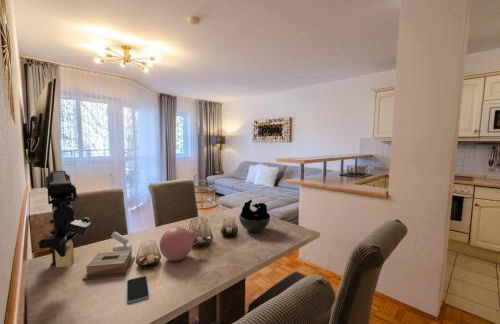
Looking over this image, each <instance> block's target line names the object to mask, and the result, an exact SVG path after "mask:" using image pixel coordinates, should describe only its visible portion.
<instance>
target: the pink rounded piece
mask: <svg viewBox="0 0 500 324" xmlns="http://www.w3.org/2000/svg"><path fill="white" fill-rule="evenodd" d="M197 236H201V233H200V232H196V231H195V230H192V231H189V230H188V229H186V228H185V227H182V226H175V227H171V228H169V229H168V230H166V231H165V232H164V233H163V234H162V236H161V237H160V240H159V241H160V242H159V251H160V253H161V254H162V256H163V257H164V258H165V259H167V260H169V261H175V262H176V261H180V260H183V259H184V258H186V257H187V256H188V255H189V254H190V253H191V252H192V249H193V245H194V241H195V240H196V239H197Z"/></svg>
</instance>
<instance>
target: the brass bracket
mask: <svg viewBox="0 0 500 324" xmlns="http://www.w3.org/2000/svg"><path fill="white" fill-rule="evenodd" d="M67 239H69V238H67ZM74 253H75V252H74V247H73V242H72V240H71V239H70V240H69V241H68V242H67V243H66V251H65V256H64V257H61V256H60V255H59V254H58V253H57V252H56V250H55V258H56V265H55V267H56V268H63V267H73V265H74V264H75V257H74Z"/></svg>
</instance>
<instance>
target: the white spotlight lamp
mask: <svg viewBox="0 0 500 324" xmlns="http://www.w3.org/2000/svg"><path fill="white" fill-rule="evenodd" d="M110 236H111V238H113V239H114V240H116V241H117V242H119V243H116V244H114V245H113V246H112V252H113V251H125V250H132V249H133V245H132V242H130V241H129V239H128V238H127V237H125V236H124V235H121V233H119V232H118V231H113V232H112V234H111V235H110Z"/></svg>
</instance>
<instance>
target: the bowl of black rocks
mask: <svg viewBox="0 0 500 324" xmlns="http://www.w3.org/2000/svg"><path fill="white" fill-rule="evenodd" d="M252 202H253V200H252V199H250V200H248V201H246V202H244V204H243V207H242V209H241V212H240V214H239V215H238V217H239V222H240V224H241V226H242V227H243V228H244V229H245V230H247V231H249V232H252V233H253V232H254V233H258V232H261V231H263V230H264V229H265V228H266V227H267V226H268V225H269V223H270V221H271V215H270V213H268V208H267V207H268V206H267V204H265V202H258V203H255V204H252ZM251 204H252V205H251ZM251 206H253V207H254V208H255V210H253V209H251Z"/></svg>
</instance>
